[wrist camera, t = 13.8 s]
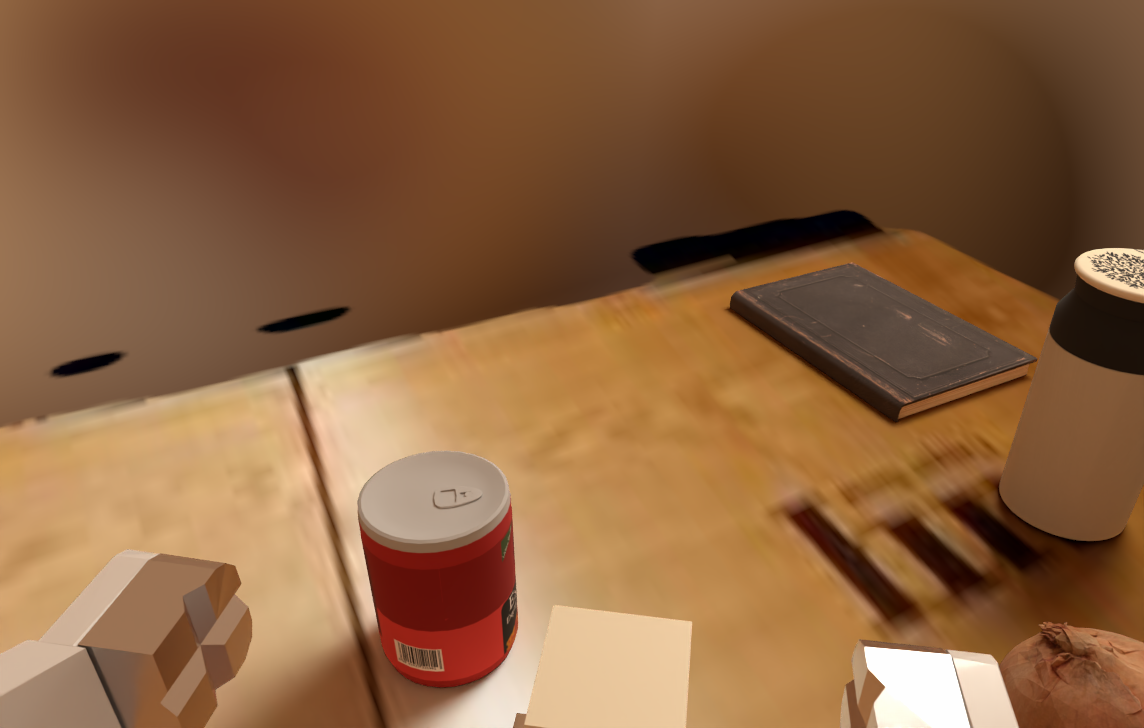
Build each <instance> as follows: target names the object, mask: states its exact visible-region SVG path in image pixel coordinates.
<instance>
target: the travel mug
mask: <svg viewBox="0 0 1144 728" xmlns="http://www.w3.org/2000/svg"><path fill="white" fill-rule="evenodd" d="M1074 268H1075V271H1076V273H1077V279H1076V285H1075V288H1073V289H1072V290H1071V291H1070V292H1069V293H1068V294H1067V295H1066V296H1065V297H1063V298H1062V299H1061V300H1060V301H1059V302H1058V303H1057V305H1056V308H1055V312H1054V315H1053V318H1052V321H1051V324H1050V327H1049V330H1048V333H1047V337H1046V340H1045V343H1044V346H1043V349H1042V352H1041V355H1040V359H1039V362H1038V365H1037V368H1036V371H1035V374H1034V377H1033V380H1032V384H1031V387H1030V390H1029V393H1028V396H1027V399H1026V402H1025V405H1024V409H1023V412H1022V415H1021V418H1020V421H1019V424H1018V427H1017V431H1016V434H1015V437H1014V440H1013V443H1012V446H1011V449H1010V452H1009V456H1008V459H1007V462H1006V465H1005V468H1004V471H1003V474H1002V477H1001V481H1000V484H999V491H1000V495H1001V497H1002V499H1003V501H1004V502H1005V504H1006V505H1007V506H1008V507H1009V509H1010V510H1011V511H1012V512H1014V513H1015V514H1016V515H1017V516H1018V517H1020V518H1021V519H1023V520H1024V521H1026V522H1027V523H1029V524H1031V525H1032V526H1034V527H1036V528H1038V529H1041V530H1043V531H1045V532H1048V533H1050V534H1053V535H1056V536H1060V537H1064V538H1068V539H1073V540H1081V541H1100V540H1106V539H1109V538H1112V537H1115V536H1116V535H1118V534H1120V533H1121V532H1122V531H1123V529H1124V528H1125V526H1126V524H1127V521H1128V519H1129V517H1130V514H1131V512H1132V510H1133V507H1134V505H1135V503H1136V501H1137V498H1138V496H1139V494H1140V491H1141V489H1142V487H1143V484H1144V251H1142V250H1135V249H1123V248H1109V249H1108V248H1107V249H1097V250H1092V251H1089V252H1086V253H1084V254H1082V255H1080V256H1079V257H1078V258H1077V259H1076V261H1075V264H1074Z"/></svg>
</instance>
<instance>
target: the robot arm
mask: <svg viewBox="0 0 1144 728" xmlns="http://www.w3.org/2000/svg"><path fill="white" fill-rule="evenodd" d="M240 585H241V581H240V578H239V575H238V573H237V570H236V567H235V566H234V565H230V564H226V563H220V562H214V561H207V560H200V559H194V558H187V557H180V556H174V555H167V554H158V553H151V552H143V551H136V550H129V549H127V550H125V551H123V552H121V553H119V554H117V555H115V556H114V557H113V558H112V559H111V560H110V561H109V562H108V563H107V565H106V566H105V567H104V568H103V569H102V570H101V571H100V572H99V574H98V575H97V576H96V577H95V578H94V579H93V580H92V581H91V582H90V584H89V585H88V586H87V587H86V588H85V589H84V590H83V591H82V592H81V594H80V595H79V596H78V597H77V598H76V599H75V600H74V601H73V603H72V604H71V605H70V606H69V607H68V608H67V609H66V610H65V611H64V613H63V614H62V615H61V616H60V617H59V618H58V619H57V620H56V621H55V623H54V624H53V625H52V626H51V627H50V628H49V629H48V630H47V632H46V633H45V634H44V635H43V636H42V637H41V638H40V639H39V640H38V641H35V640H26V641H24V642H22V643H20V644H18V645H17V646H15V647H13V648H11V649H9V650H7V651H5V652H3V653H1V654H0V728H204V727H205V725H206V723H207V722H208V720H209V719H210V717H211V715H212V714H213V712H214V710H215V709H216V707H217V698H216V691H215V690H216V689H217V688H219V687H220V686H222V685H223V684H225V683H226V682H228V681H230V680H231V679H233V678H234V677H235V676H236V674H237V673H238V671H239V669H240V667H241V666H242V664H243V662H244V660H245V659H246V656H247V652H248V649H249V645H250V642H251V638H252V619H251V615H250V611H249V608H248V606H247V605H245V604H244V603H243V602H242V601H241V600H240V599H239V598H238V597H237V596H236V595H235V593H236V591H237V590H238V588H239V587H240ZM852 667H853V675H854V680H852V681H851V682H849V683H847V684H846V685H845V690H844V695H843V700H842V707H841V720H840V728H1019V726H1018V723H1017V720H1016V717H1015V714H1014V711H1013V708H1012V705H1011V702H1010V699H1009V696H1008V693H1007V690H1006V687H1005V684H1004V681H1003V678H1002V675H1001V672H1000V669H999V666H998V663H997V661H996V660H995V659H994V658H993V657H992V655H988V654H980V653H971V652H963V651H954V650H943V649H941V648H932V647H923V646H914V645H905V644H896V643H887V642H878V641H868V640H859V641H858V643H857V644H856V646H855V649H854V653H853V657H852Z"/></svg>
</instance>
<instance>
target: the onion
mask: <svg viewBox="0 0 1144 728" xmlns="http://www.w3.org/2000/svg"><path fill="white" fill-rule="evenodd" d="M1039 626H1040V627H1041V628H1042V630H1043V631H1042V632H1040V633H1038V634H1037V635H1035V636H1033V637H1031V638H1029V639H1027V640H1025V641H1023V642H1021V643H1020V644H1018V645H1017V646H1016V647H1014V648H1013V649H1012V650H1011V651H1010V652H1009V653H1008V654H1007V655H1006V656H1005V658H1004V659H1003V661H1002V662H1001V664H1000V666H999V669H1000V672H1001V675H1002V678H1003V681H1004V684H1005V687H1006V690H1007V693H1008V696H1009V699H1010V702H1011V705H1012V708H1013V711H1014V714H1015V717H1016V720H1017V723H1018V726H1019V728H1144V643H1143V642H1140V641H1137V640H1135V639H1132V638H1129V637H1127V636H1124V635H1120V634H1117V633H1113V632H1108V631H1103V630H1098V629H1092V628H1075V627H1073V626H1067V622H1066V623H1065V622H1064V625H1062V624H1060V623H1058V624H1053V623H1052V622H1043V625H1039Z"/></svg>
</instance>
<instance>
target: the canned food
mask: <svg viewBox="0 0 1144 728" xmlns="http://www.w3.org/2000/svg"><path fill="white" fill-rule="evenodd" d="M358 520H359V526H360V531H361V539H362V544H363V549H364V555H365V560H366V565H367V570H368V575H369V581H370V586H371V591H372V596H373V602H374V607H375V612H376V617H377V622H378V628H379V633H380V638H381V643H382V647H383V650H384V652H385V655H386V656H387V658H388V659H389V660H390V662H391V663H392V665H393V666H394V667H395V669H396V670H397V671H398V672H399V673H400V674H402V675H403V676H404V677H405V678H407V679H409V680H411V681H413V682H415V683H418V684H422V685H425V686H432V687H454V686H459V685H463V684H467V683H470V682H473V681H475V680H478V679H480V678H482V677H483V676H485V675H487V674H489V673H490V672H492V671H493V670H494V669H495V668H496V667H498V666H499V665H500V664H501V663H502V661H503V660H504V659H505V658H506V657H507V655H508V653H509V651H510V649H511V648H512V645H513V643H514V640H515V637H516V633H517V629H518V612H517V594H516V576H515V558H514V540H513V522H512V507H511V495H510V491H509V485H508V482H507V479H506V477H505V475H504V474H503V472H502V471H501V470H500V469H499V468H498V467H497V466H496V465H495V464H493V463H492V462H490V461H488V460H486V459H484V458H482V457H479V456H476V455H473V454H469V453H464V452H457V451H432V452H426V453H420V454H416V455H412V456H408V457H405V458H403V459H400V460H398V461H395V462H393V463H391V464H389V465H387V466H386V467H384V468H382V469H381V470H379V471H378V472H377V473H376V474H374V475H373V476H372V477H371V478H370V479H369V480H368V481H367V482H366V483H365V485H364V487H363V488H362V490H361V492H360V494H359V498H358Z"/></svg>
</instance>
